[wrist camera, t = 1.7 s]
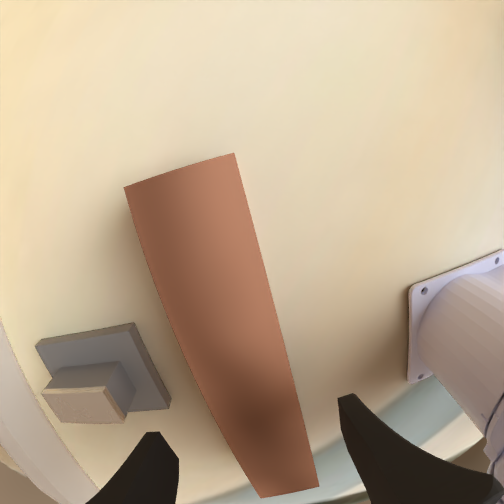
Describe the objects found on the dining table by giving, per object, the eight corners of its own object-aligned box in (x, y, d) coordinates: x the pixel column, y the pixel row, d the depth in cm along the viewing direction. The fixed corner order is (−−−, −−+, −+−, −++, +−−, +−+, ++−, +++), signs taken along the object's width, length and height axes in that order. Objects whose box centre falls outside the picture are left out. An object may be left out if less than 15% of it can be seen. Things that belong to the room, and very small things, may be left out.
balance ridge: (134, 322, 16) (109, 361, 12) (171, 398, 18) (160, 442, 14) (41, 339, 16) (12, 369, 12) (80, 404, 18) (61, 439, 14)
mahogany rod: (235, 159, 14) (234, 152, 10) (306, 436, 20) (319, 486, 15) (159, 182, 14) (123, 187, 10) (256, 447, 20) (260, 498, 15)
